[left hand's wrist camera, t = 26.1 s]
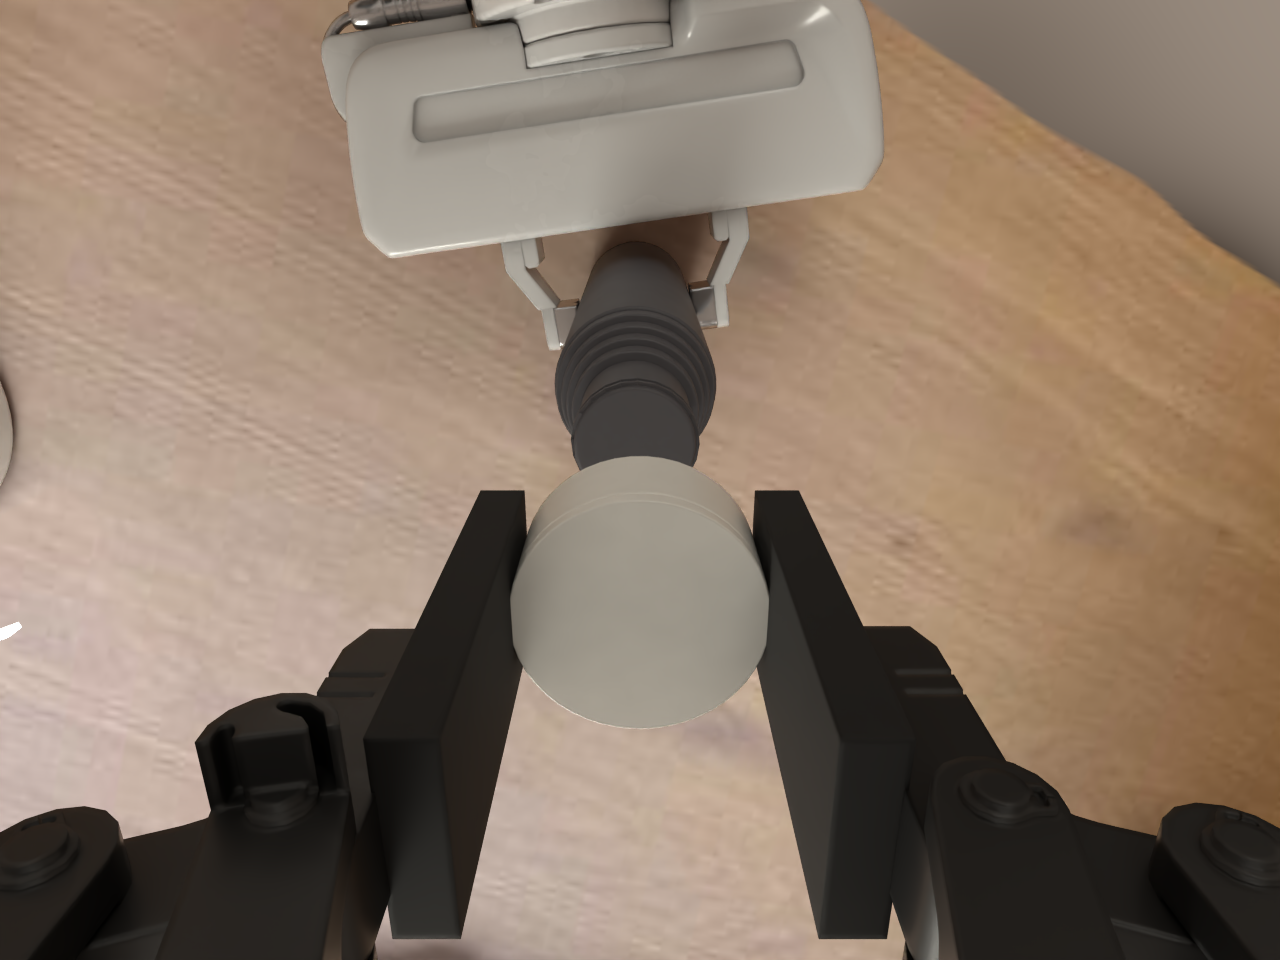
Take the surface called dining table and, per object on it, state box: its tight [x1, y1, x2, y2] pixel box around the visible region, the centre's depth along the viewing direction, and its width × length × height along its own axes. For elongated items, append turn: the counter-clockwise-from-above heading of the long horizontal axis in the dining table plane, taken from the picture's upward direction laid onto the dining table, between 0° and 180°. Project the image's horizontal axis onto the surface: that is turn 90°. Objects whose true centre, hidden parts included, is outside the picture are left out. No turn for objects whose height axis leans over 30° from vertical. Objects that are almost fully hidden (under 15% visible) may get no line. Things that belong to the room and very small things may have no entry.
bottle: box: [555, 242, 716, 471], centre depth 30 cm, size 5×5×22 cm
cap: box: [510, 456, 769, 729], centre depth 14 cm, size 4×4×2 cm
